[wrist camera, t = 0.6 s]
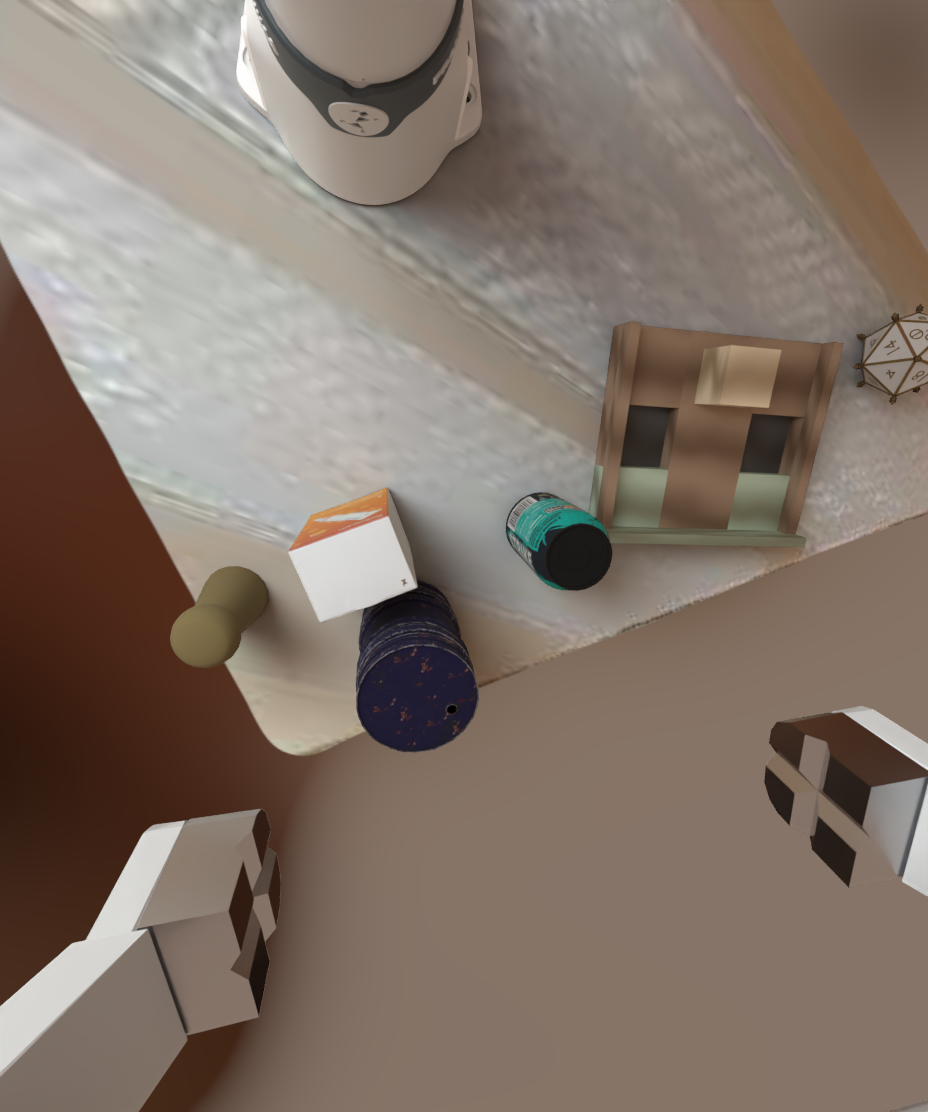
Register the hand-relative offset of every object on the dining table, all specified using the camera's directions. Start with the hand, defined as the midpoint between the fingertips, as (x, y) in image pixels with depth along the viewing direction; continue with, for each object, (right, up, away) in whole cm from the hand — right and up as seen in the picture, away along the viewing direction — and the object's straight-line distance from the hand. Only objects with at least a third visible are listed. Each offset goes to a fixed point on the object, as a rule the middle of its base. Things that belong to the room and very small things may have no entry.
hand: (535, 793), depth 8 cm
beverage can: (+6, +7, +46) cm, 47 cm away
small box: (-11, +6, +43) cm, 45 cm away
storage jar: (-7, -3, +47) cm, 47 cm away
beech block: (+24, +21, +42) cm, 53 cm away
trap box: (+23, +16, +46) cm, 54 cm away
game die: (+42, +25, +46) cm, 67 cm away
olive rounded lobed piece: (-24, 0, +43) cm, 49 cm away
